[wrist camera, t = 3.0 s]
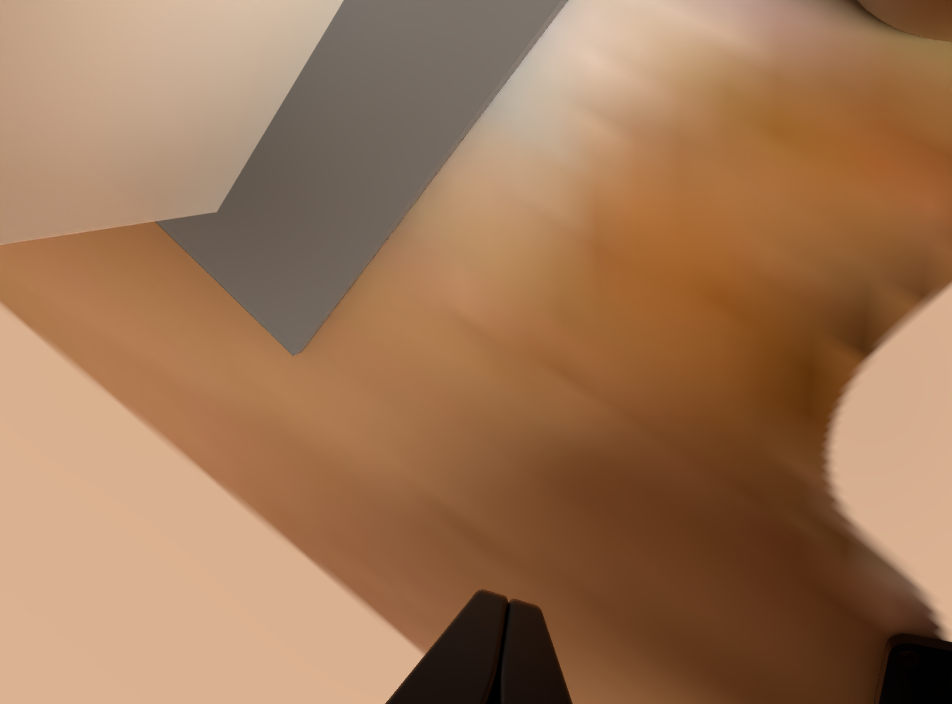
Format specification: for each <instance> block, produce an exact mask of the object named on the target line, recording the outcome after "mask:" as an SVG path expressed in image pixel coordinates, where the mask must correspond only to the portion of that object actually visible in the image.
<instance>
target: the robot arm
mask: <svg viewBox="0 0 952 704" xmlns="http://www.w3.org/2000/svg"><path fill="white" fill-rule="evenodd" d="M903 651H913V652H915V653H914V654H913V655H911V656H902V655H900V653H901V652H903ZM386 704H573V703H572V700H571V697H570V694H569V691H568V688H567V685H566V682H565V679H564V676H563V673H562V670H561V667H560V664H559V661H558V659H557V656H556V653H555V650H554V647H553V644H552V641H551V638H550V635H549V632H548V629H547V626H546V623H545V620H544V617H543V614H542V611H541V609H540V608H539V607H538V606H536V605H533V604H530V603H527V602H524V601H520V600H517V599H512V600H510V601H509V602H508V599H507V598H506V596H504V595H500V594H497V593H494V592H490V591H487V590H483V589H481V590H478V591H477V592H476V593H475V594H474V595H473V597H472V598H471V599H470V600H469V602H468V603H467V604H466V605H465V606H464V608H463V609H462V610H461V611H460V613H459V614H458V615H457V616H456V618H455V619H454V620H453V621H452V622H451V624H450V625H449V626H448V627H447V629H446V630H445V631H444V632H443V634H442V635H441V636H440V637H439V638H438V640H437V641H436V642H435V643H434V645H433V646H432V647H431V648H430V649H429V651H428V652H427V653H426V654H425V656H424V657H423V658H422V659H421V661H420V662H419V663H418V664H417V665H416V667H415V668H414V669H413V670H412V672H411V673H410V674H409V675H408V677H407V678H406V679H405V680H404V681H403V683H402V684H401V685H400V686H399V688H398V689H397V690H396V691H395V692H394V694H393V695H392V696H391V698H390V699H389V700H388V701H387V702H386ZM874 704H952V642H948V641H943V640H937V639H932V638H927V637H921V636H916V635H911V634H898V635H894V636H893V637H891V638H890V639H888V641H887V643H886V646H885V651H884V656H883V661H882V666H881V671H880V676H879V681H878V686H877V691H876V696H875V701H874Z"/></svg>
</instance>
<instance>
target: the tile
mask: <svg viewBox="0 0 952 704" xmlns="http://www.w3.org/2000/svg"><path fill="white" fill-rule="evenodd" d="M343 1H344V0H0V245H4V244H11V243H17V242H24V241H30V240H37V239H43V238H50V237H57V236H63V235H70V234H76V233H83V232H89V231H96V230H102V229H109V228H116V227H122V226H129V225H135V224H142V223H148V222H155V221H161V220H168V219H174V218H181V217H188V216H194V215H201V214H207V213H214V212H217V211H218V209H219V207H220V206H221V204H222V202H223V201H224V199H225V197H226V196H227V194H228V192H229V191H230V189H231V187H232V186H233V184H234V182H235V181H236V179H237V177H238V176H239V174H240V172H241V171H242V169H243V167H244V166H245V164H246V162H247V161H248V159H249V157H250V156H251V154H252V152H253V151H254V149H255V147H256V146H257V144H258V142H259V141H260V139H261V137H262V136H263V134H264V132H265V131H266V129H267V127H268V126H269V124H270V122H271V121H272V119H273V117H274V116H275V114H276V112H277V111H278V109H279V107H280V106H281V104H282V102H283V101H284V99H285V97H286V96H287V94H288V92H289V91H290V89H291V87H292V86H293V84H294V82H295V81H296V79H297V77H298V76H299V74H300V72H301V71H302V69H303V67H304V66H305V64H306V62H307V61H308V59H309V57H310V56H311V54H312V52H313V51H314V49H315V47H316V46H317V44H318V42H319V41H320V39H321V37H322V36H323V34H324V32H325V31H326V29H327V27H328V26H329V24H330V22H331V21H332V19H333V17H334V16H335V14H336V12H337V11H338V9H339V7H340V6H341V4H342V2H343Z"/></svg>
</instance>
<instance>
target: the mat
mask: <svg viewBox="0 0 952 704" xmlns="http://www.w3.org/2000/svg"><path fill="white" fill-rule="evenodd" d="M567 1H568V0H344V1H343V2H342V4H341V6H340V7H339V9H338V11H337V12H336V14H335V16H334V17H333V19H332V21H331V22H330V24H329V26H328V27H327V29H326V31H325V32H324V34H323V36H322V37H321V39H320V41H319V42H318V44H317V46H316V47H315V49H314V51H313V52H312V54H311V56H310V57H309V59H308V61H307V62H306V64H305V66H304V67H303V69H302V71H301V72H300V74H299V76H298V77H297V79H296V81H295V82H294V84H293V86H292V87H291V89H290V91H289V92H288V94H287V96H286V97H285V99H284V101H283V102H282V104H281V106H280V107H279V109H278V111H277V112H276V114H275V116H274V117H273V119H272V121H271V122H270V124H269V126H268V127H267V129H266V131H265V132H264V134H263V136H262V137H261V139H260V141H259V142H258V144H257V146H256V147H255V149H254V151H253V152H252V154H251V156H250V157H249V159H248V161H247V162H246V164H245V166H244V167H243V169H242V171H241V172H240V174H239V176H238V177H237V179H236V181H235V182H234V184H233V186H232V187H231V189H230V191H229V192H228V194H227V196H226V197H225V199H224V201H223V202H222V204H221V206H220V207H219V209H218V211H217V212H214V213H207V214H201V215H194V216H188V217H181V218H174V219H168V220H161V221H155V222H156V223H157V224H158V225H159V226H160V227H161V228H162V229H163V230H164V231H165V232H166V233H167V234H168V235H170V236H171V237H172V238H173V239H174V240H175V241H176V242H177V243H178V244H179V245H180V246H181V247H182V248H183V249H184V250H185V251H186V252H187V253H188V254H189V255H190V256H191V257H192V258H193V259H194V260H195V261H196V262H197V263H198V264H199V265H200V266H201V267H202V268H203V269H204V270H205V271H206V272H207V273H208V274H210V275H211V276H212V277H213V278H214V279H215V280H216V281H217V282H218V283H219V284H220V285H221V286H222V287H223V288H224V289H225V290H226V291H227V292H228V293H229V294H230V295H231V296H232V297H233V298H234V299H235V300H236V301H237V302H238V303H239V304H240V305H241V306H242V307H243V308H244V309H245V310H246V311H247V312H249V313H250V314H251V315H252V316H253V317H254V318H255V319H256V320H257V321H258V322H259V323H260V324H261V325H262V326H263V327H264V328H265V329H266V330H267V331H268V332H269V333H270V334H271V335H272V336H273V337H274V338H275V339H276V340H277V341H278V342H279V343H280V344H281V345H282V346H283V347H284V348H285V349H286V350H287V351H289V352H290V353H291V354H292V355H293V356H294V355H296V354H298V353H300V352H302V350H303V349H304V348H305V346H306V345H307V344H308V343H309V341H310V340H311V339H312V337H313V336H314V335H315V333H316V332H317V331H318V329H319V328H320V327H321V325H322V324H323V323H324V321H325V320H326V319H327V317H328V316H329V315H330V314H331V312H332V311H333V310H334V308H335V307H336V306H337V304H338V303H339V302H340V300H341V299H342V298H343V296H344V295H345V294H346V292H347V291H348V290H349V288H350V287H351V286H352V284H353V283H354V282H355V281H356V279H357V278H358V277H359V275H360V274H361V273H362V271H363V270H364V269H365V267H366V266H367V265H368V263H369V262H370V261H371V259H372V258H373V257H374V255H375V254H376V253H377V252H378V250H379V249H380V248H381V246H382V245H383V244H384V242H385V241H386V240H387V238H388V237H389V236H390V234H391V233H392V232H393V230H394V229H395V228H396V226H397V225H398V224H399V223H400V221H401V220H402V219H403V217H404V216H405V215H406V213H407V212H408V211H409V209H410V208H411V207H412V205H413V204H414V203H415V201H416V200H417V199H418V197H419V196H420V195H421V194H422V192H423V191H424V190H425V188H426V187H427V186H428V184H429V183H430V182H431V180H432V179H433V178H434V176H435V175H436V174H437V172H438V171H439V170H440V168H441V167H442V166H443V165H444V163H445V162H446V161H447V159H448V158H449V157H450V155H451V154H452V153H453V151H454V150H455V149H456V147H457V146H458V145H459V143H460V142H461V141H462V139H463V138H464V137H465V136H466V134H467V133H468V132H469V130H470V129H471V128H472V126H473V125H474V124H475V122H476V121H477V120H478V118H479V117H480V116H481V114H482V113H483V112H484V110H485V109H486V108H487V107H488V105H489V104H490V103H491V101H492V100H493V99H494V97H495V96H496V95H497V93H498V92H499V91H500V89H501V88H502V87H503V85H504V84H505V83H506V81H507V80H508V79H509V77H510V76H511V75H512V74H513V72H514V71H515V70H516V68H517V67H518V66H519V64H520V63H521V62H522V60H523V59H524V58H525V56H526V55H527V54H528V52H529V51H530V50H531V48H532V47H533V46H534V45H535V43H536V42H537V41H538V39H539V38H540V37H541V35H542V34H543V33H544V31H545V30H546V29H547V27H548V26H549V25H550V23H551V22H552V21H553V19H554V18H555V17H556V16H557V14H558V13H559V12H560V10H561V9H562V8H563V6H564V5H565V4H566V2H567Z"/></svg>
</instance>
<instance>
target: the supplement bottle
mask: <svg viewBox="0 0 952 704" xmlns="http://www.w3.org/2000/svg"><path fill="white" fill-rule="evenodd" d="M856 1H857V2H859V3H860V4H861V5H862V6H863V7H864V8H865V9H866V10H867V11H868V12H870V13H871V14H872V15H874V16H875V17H876V18H878V19H879V20H881V21H883V22H885V23H886V24H888V25H890V26H892V27H894V28H896V29H898V30H901V31H903V32H906V33H909V34H912V35H915V36H918V37H923V38H928V39H933V40H940V41H950V42H952V0H856Z"/></svg>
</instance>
